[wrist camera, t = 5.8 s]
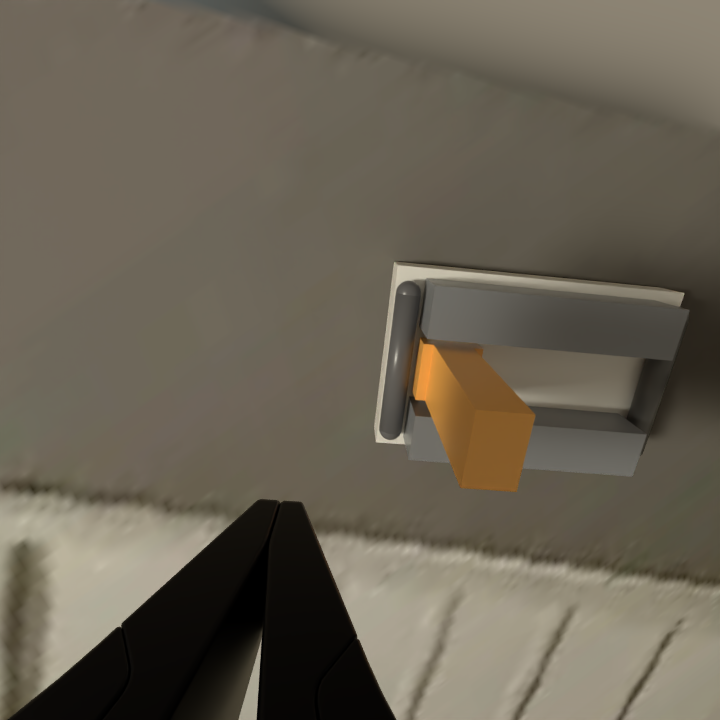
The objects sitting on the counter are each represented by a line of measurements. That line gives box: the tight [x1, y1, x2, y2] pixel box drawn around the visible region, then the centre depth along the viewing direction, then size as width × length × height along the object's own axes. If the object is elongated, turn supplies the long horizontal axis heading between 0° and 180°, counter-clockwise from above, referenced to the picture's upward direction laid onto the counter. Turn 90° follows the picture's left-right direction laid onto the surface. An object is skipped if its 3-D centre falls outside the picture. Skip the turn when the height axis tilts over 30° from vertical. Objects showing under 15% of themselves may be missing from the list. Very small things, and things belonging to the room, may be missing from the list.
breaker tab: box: [412, 337, 535, 492], centre depth 15 cm, size 2×2×7 cm
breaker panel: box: [374, 261, 690, 477], centre depth 19 cm, size 12×8×4 cm, turn 84°
